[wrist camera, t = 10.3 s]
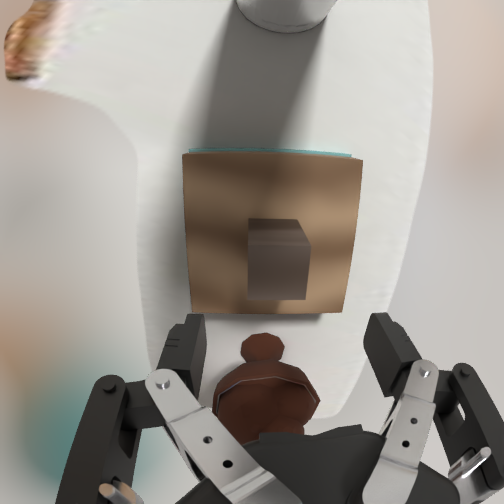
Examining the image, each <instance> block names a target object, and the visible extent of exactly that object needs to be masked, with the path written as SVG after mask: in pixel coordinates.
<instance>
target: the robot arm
mask: <svg viewBox="0 0 504 504" xmlns="http://www.w3.org/2000/svg"><path fill="white" fill-rule="evenodd" d="M236 1H237V5H238V7H239V9H240V11H241V12H242V13H243V15H244V16H245V17H246V18H247V19H249V20H250V21H251V22H253V23H254V24H256V25H258V26H260V27H262V28H264V29H268V30H271V31H275V32H282V33H295V32H301V31H305V30H308V29H311V28H313V27H315V26H316V25H318V24H319V23H320V22H321V21H322V20H323V19H324V18H325V17H326V15H327V14H328V13H329V11H330V10H331V8H332V7H333V5H334V4H335V3H336V1H337V0H236ZM363 345H364V349H365V352H366V354H367V356H368V359H369V361H370V363H371V366H372V368H373V370H374V372H375V375H376V378H377V380H378V382H379V385H380V387H381V390H382V392H383V395H384V397H389V396H394V401H393V403H392V405H391V407H390V410H389V412H388V415H387V417H386V419H385V421H384V424H383V426H382V428H381V430H380V432H379V434H376V433H373V432H369V431H363V429H362V426H361V424H359V425H353V426H345V427H338V428H335V429H332V430H329V431H326V432H323V433H321V434H318V435H313V436H311V435H303V434H296V433H289V432H269V433H259V439H258V440H254V441H251V442H248V443H246V444H243V445H240V444H239V443H238V442H237V441H236V440H235V438H234V437H233V436H232V435H231V434H230V433H229V432H228V431H227V429H226V428H225V427H224V426H223V425H222V424H221V422H220V421H219V420H218V419H217V418H216V417H215V415H214V414H213V413H212V412H211V411H210V409H209V408H207V407H206V406H204V407H202V406H201V405H200V404H199V403H198V397H199V391H200V385H201V379H202V373H203V367H204V361H205V355H206V346H207V341H206V330H205V320H204V315H203V314H187V317H186V320H185V323H184V324H176V325H175V326H174V327H173V328H172V329H171V330H170V331H169V334H168V337H167V340H166V342H165V346H164V348H163V351H162V354H161V357H160V360H159V363H158V366H157V369H156V370H155V371H153V372H151V373H150V374H149V375H148V376H147V378H146V379H145V380H142V381H137V382H129V383H125V382H124V380H123V379H122V378H121V377H119V376H117V375H106V376H103V377H101V378H100V379H98V380H97V381H96V383H95V384H94V387H93V389H92V392H91V394H90V397H89V399H88V402H87V405H86V407H85V410H84V413H83V415H82V418H81V421H80V423H79V426H78V429H77V432H76V435H75V438H74V441H73V444H72V447H71V450H70V453H69V456H68V459H67V463H66V466H65V469H64V473H63V476H62V480H61V483H60V487H59V491H58V494H57V498H56V503H55V504H144V502H143V500H142V498H141V497H140V496H139V495H137V493H136V492H134V491H133V490H132V489H131V487H132V481H133V475H134V469H135V463H136V458H137V452H138V447H139V442H140V436H141V432H142V429H144V428H152V427H159V426H162V427H163V429H164V430H165V432H166V433H167V435H168V436H169V438H170V440H171V441H172V443H173V444H174V446H175V447H176V449H177V450H178V452H179V453H180V455H181V456H182V458H183V460H184V461H185V463H186V465H187V466H188V468H189V469H190V471H191V472H192V473H193V475H194V476H195V477H196V479H197V480H198V481H199V483H198V484H197V485H196V486H195V487H194V488H193V489H192V490H191V491H190V492H188V493H187V494H186V495H185V496H184V497H182V498H181V499H180V500H179V501H178V502H176V503H175V504H479V503H481V502H483V501H484V500H486V499H487V498H489V497H490V496H492V495H493V494H495V493H496V492H498V491H499V490H500V489H502V488H503V487H504V422H503V420H502V418H501V416H500V414H499V412H498V410H497V408H496V406H495V404H494V403H493V401H492V399H491V397H490V396H489V394H488V392H487V390H486V388H485V387H484V385H483V383H482V382H481V380H480V378H479V377H478V375H477V373H476V371H475V370H474V369H473V367H471V366H470V365H468V364H466V363H458V364H456V365H455V366H454V367H453V369H452V371H444V370H438V368H437V366H436V365H435V364H434V363H432V362H431V361H428V360H423V359H422V358H421V356H420V354H419V353H418V351H417V349H416V348H415V346H414V345H413V343H412V341H411V340H410V338H409V336H407V333H406V332H405V330H404V328H403V327H402V326H400V325H399V324H398V323H396V322H393V321H392V320H391V318H390V316H389V315H388V313H386V312H384V313H372V314H371V316H370V319H369V322H368V325H367V329H366V332H365V335H364V340H363ZM459 403H460V404H461V406H462V408H463V411H464V413H465V420H463V417H462V415H461V413H460V411H459V409H458V407H457V406H458V404H459ZM432 419H433V420H434V423H435V425H436V428H437V431H438V433H439V436H440V439H441V441H442V444H443V447H444V450H445V452H446V455H447V458H448V461H449V464H450V469H449V473H448V478H446V477H445V476H443V475H441V474H439V473H438V472H436V471H435V470H433V469H432V468H430V467H428V466H427V465H425V464H424V463H422V462H421V461H420V459H421V456H422V453H423V449H424V447H425V444H426V440H427V437H428V434H429V430H430V426H431V423H432Z"/></svg>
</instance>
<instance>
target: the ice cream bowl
mask: <svg viewBox="0 0 504 504" xmlns="http://www.w3.org/2000/svg"><path fill="white" fill-rule="evenodd" d="M284 347H285V346H284V345H283V343H282V341H281V340H280V338H279V337H277V336H274V335H271V334H269V333H261V334H253V335H251V336H250V337H249V338H247V339H246V340H245V341H243V342H242V347H241V355H242V356H243V357H244V359H245V360H246V361H247V363H243V364H242V365H240V366H239V367H237V368H236V369H235V370H233V371H232V372H230V373H229V374H227V375H226V376H225V377H223V378H222V380H221V381H220V382H219V383H218V384H217V387H216V389H215V392H214V396H213V407H212V413H213V414H214V415H215V416H216V417H217V418H218V420H219V421H220V422H221V424H222V425H223V426H224V427H225V428H226V429H227V431H228V432H229V433H230V434H231V435H232V436H233V437H234V438H235V440H236V441H237V442H238V443H239V444H240V445H243V444H246V443H248V442H251V441H254V440H258V439H259V433H269V432H289V433H296V434H303V435H304V427H303V425H305V424H306V423H307V422H308V420H310V419H311V418H312V416H313V414H314V412H315V410H316V408H317V406H318V404H319V402H320V399H319V397H318V395H317V393H316V391H315V389H314V388H313V386H312V385H311V383H310V381H309V380H308V378H307V377H306V375H305V373H304V372H302V371H301V370H300V369H299V368H298V367H294V366H291V365H288V364H285V363H282V362H279V360H280V359H281V357H282V354H283V351H284Z"/></svg>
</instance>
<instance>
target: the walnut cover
mask: <svg viewBox="0 0 504 504" xmlns="http://www.w3.org/2000/svg"><path fill="white" fill-rule="evenodd" d="M182 163H183V194H184V215H185V232H186V247H187V260H188V272H189V284H190V294H191V304H192V312H201V313H236V314H305V313H340V312H342V309H343V304H344V299H345V294H346V289H347V283H348V278H349V272H350V266H351V260H352V253H353V247H354V240H355V233H356V225H357V217H358V209H359V200H360V190H361V179H362V167H363V160H359V159H356V158H352V157H345V156H334V155H322V154H307V153H289V152H261V151H208V152H189V153H186V154H182Z"/></svg>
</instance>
